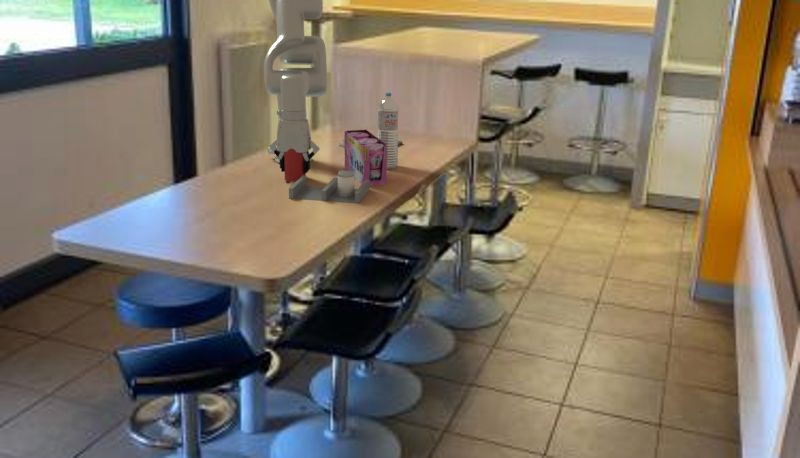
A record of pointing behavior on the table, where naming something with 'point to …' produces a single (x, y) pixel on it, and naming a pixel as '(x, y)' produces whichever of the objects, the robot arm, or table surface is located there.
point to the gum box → (366, 157)
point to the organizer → (325, 191)
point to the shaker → (346, 183)
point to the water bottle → (389, 128)
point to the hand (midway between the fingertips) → (295, 171)
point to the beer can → (293, 165)
